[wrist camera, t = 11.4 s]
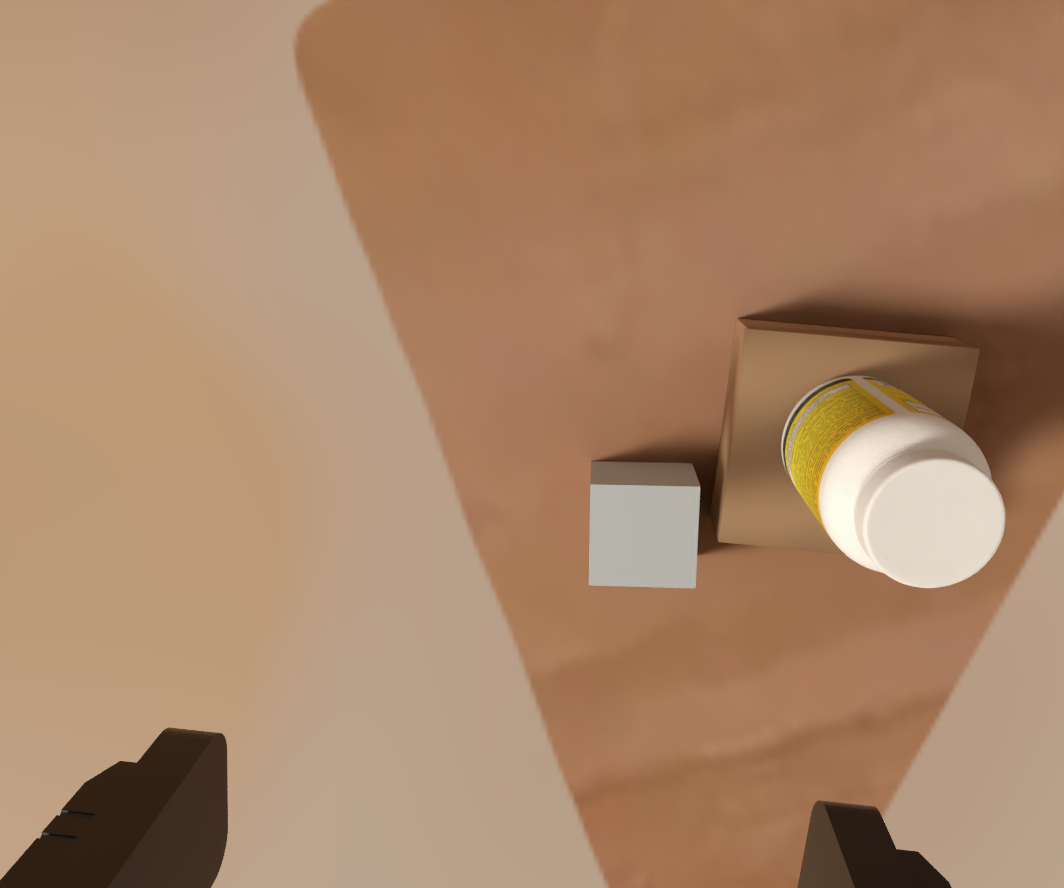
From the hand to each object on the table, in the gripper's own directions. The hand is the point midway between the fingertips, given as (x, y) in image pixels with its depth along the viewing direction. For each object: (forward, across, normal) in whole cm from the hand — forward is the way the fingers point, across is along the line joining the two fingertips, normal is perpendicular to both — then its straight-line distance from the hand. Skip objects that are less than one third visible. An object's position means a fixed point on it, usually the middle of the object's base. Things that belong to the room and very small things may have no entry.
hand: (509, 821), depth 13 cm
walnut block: (+34, -12, +2) cm, 36 cm away
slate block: (+34, -4, +7) cm, 35 cm away
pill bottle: (+31, -13, +2) cm, 33 cm away
